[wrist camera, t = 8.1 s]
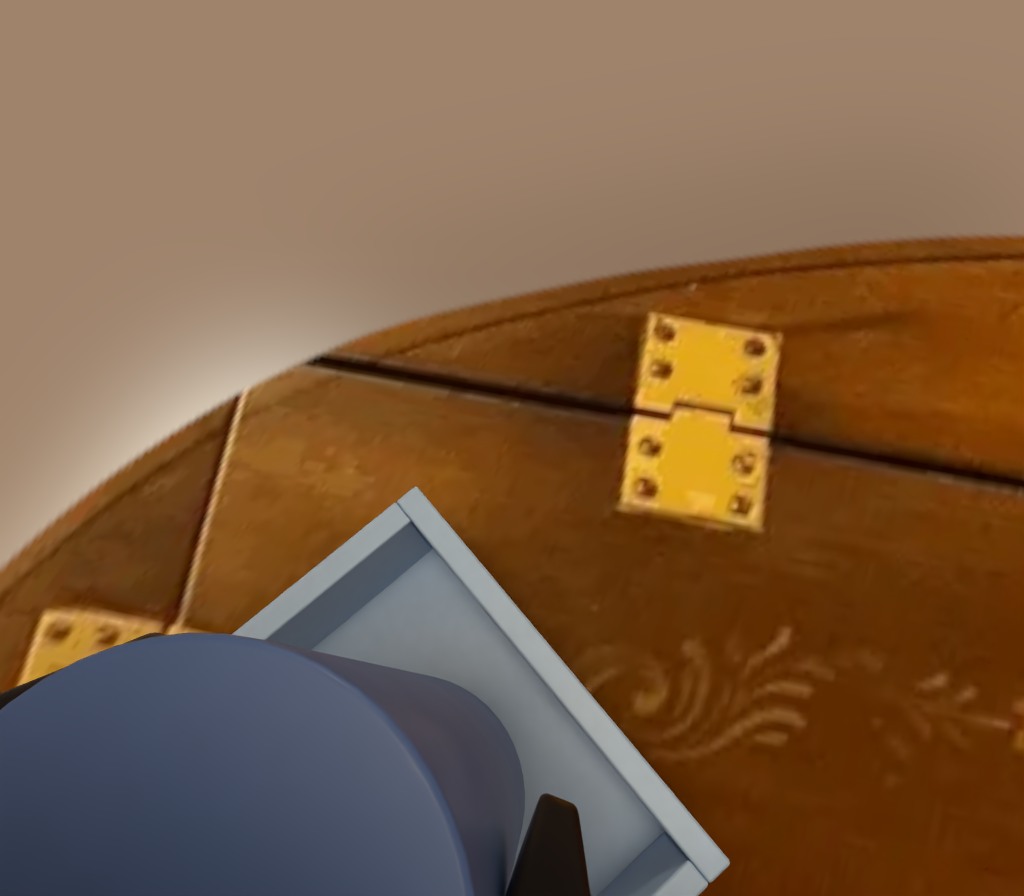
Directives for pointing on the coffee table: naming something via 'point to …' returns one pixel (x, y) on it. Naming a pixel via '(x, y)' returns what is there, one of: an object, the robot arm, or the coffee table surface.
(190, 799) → the dark blue cylinder
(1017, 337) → the coffee table surface
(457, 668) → the slate bin
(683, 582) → the coffee table surface
